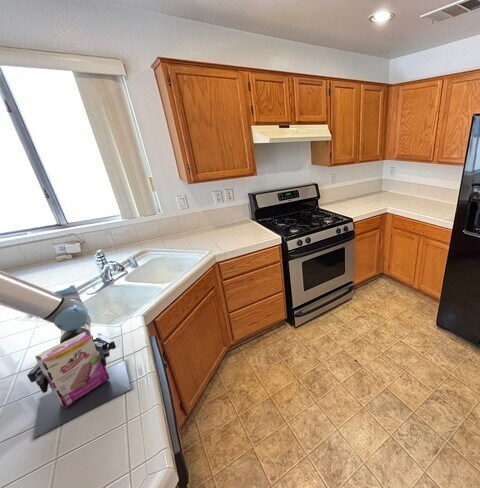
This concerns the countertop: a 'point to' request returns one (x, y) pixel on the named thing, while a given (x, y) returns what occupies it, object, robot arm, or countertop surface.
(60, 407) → the slate placemat
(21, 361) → the countertop surface
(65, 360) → the candy bar box
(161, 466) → the countertop surface
